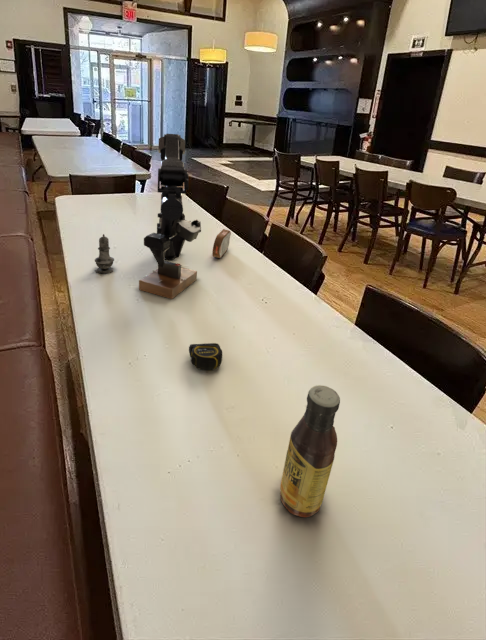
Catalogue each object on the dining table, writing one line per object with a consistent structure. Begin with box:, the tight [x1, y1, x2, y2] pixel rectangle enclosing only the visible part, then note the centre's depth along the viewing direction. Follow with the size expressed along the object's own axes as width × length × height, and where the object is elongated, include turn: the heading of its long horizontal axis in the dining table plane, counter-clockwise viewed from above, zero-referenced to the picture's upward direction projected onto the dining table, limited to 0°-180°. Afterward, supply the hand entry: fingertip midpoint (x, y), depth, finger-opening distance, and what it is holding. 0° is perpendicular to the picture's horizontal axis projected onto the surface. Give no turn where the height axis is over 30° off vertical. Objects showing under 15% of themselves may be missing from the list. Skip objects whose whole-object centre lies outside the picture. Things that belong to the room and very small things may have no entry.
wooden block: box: [138, 266, 198, 300], centre depth 123 cm, size 15×11×3 cm
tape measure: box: [188, 342, 223, 371], centre depth 88 cm, size 7×7×4 cm
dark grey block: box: [157, 260, 182, 279], centre depth 122 cm, size 7×2×4 cm, turn 66°
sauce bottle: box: [279, 384, 341, 518], centre depth 57 cm, size 6×6×20 cm
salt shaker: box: [94, 233, 115, 275], centre depth 127 cm, size 6×6×12 cm
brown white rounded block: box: [211, 228, 232, 259], centre depth 149 cm, size 15×3×8 cm, turn 164°
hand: (169, 261), depth 121 cm, fingers open, 9 cm apart
